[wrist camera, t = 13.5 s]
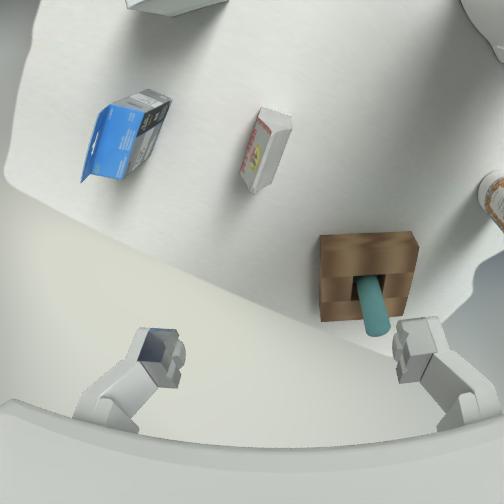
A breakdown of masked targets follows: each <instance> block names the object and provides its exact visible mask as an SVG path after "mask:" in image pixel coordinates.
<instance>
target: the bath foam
mask: <svg viewBox="0 0 504 504" xmlns="http://www.w3.org/2000/svg"><path fill="white" fill-rule="evenodd" d="M478 200H479V203H480V205H481V207H482V208H483V209H484V210H485V211H486V213H487V214H488V215H489V216H490V217H491V218H492V220H493V221H494V222H495V223H496V224H497V226H498V227H499V228H500V229H501V230H502V232H503V233H504V172H502V171H494V172H491V173H489V174H488V175H487V176H486V177H485V178H484V179H483V181H482V182H481V184H480V187H479V191H478Z"/></svg>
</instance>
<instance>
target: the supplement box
mask: <svg viewBox="0 0 504 504" xmlns="http://www.w3.org/2000/svg"><path fill="white" fill-rule="evenodd" d="M224 1H228V0H125V2H126V7H127V9H130V10H137V11H143V12H149V13H154V14H160V15H165V16H170V17H174V16H177V15H180V14H183V13H186V12H189V11H193V10H196V9H199V8H202V7H206V6H209V5H213V4H217V3H221V2H224Z"/></svg>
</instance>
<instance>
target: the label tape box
mask: <svg viewBox="0 0 504 504" xmlns="http://www.w3.org/2000/svg"><path fill="white" fill-rule="evenodd" d="M171 101H172V99H171V98H168V97H166V96H164V95H161V94H159V93H156V92H154V91H152V90H149V89H147V90H145V91H142V92H140V93H137V94H134V95H132V96H129V97H127V98H124V99H122V100H119V101H117V102H114V103H112V104H109V105H108V106H107V107H106V108H104V109H103V110H101V111H100V112H99V114H98V116H97V119H96V122H95V125H94V128H93V132H92V135H91V139H90V143H89V146H88V150H87V154H86V158H85V162H84V167H83V171H82V176H81V181H80V183H82V182H83V181H84V180H85V179H86V178H87V177H88V176H89V174H92V175H98V176H104V177H109V178H114V179H119V180H123V179H124V178H125V177H126V176H127V175H128V174H129V173H130V172H132V171H133V170H134V169H135V168H136V167H137V166H138V165H139V164H141V163H142V162H143V161H144V160H145V159H147V158H148V157H149V156H150V154H151V152H152V149H153V146H154V144H155V141H156V139H157V136H158V133H159V131H160V128H161V125H162V123H163V121H164V118H165V115H166V113H167V111H168V108H169V106H170V103H171ZM98 131H99V132H98ZM97 133H98V136H97V140H96V143H95V147H94V151H93V154H92V155H91V152H92V149H93V148H92V145H93V143H94V142H95V139H96V135H97Z"/></svg>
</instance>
